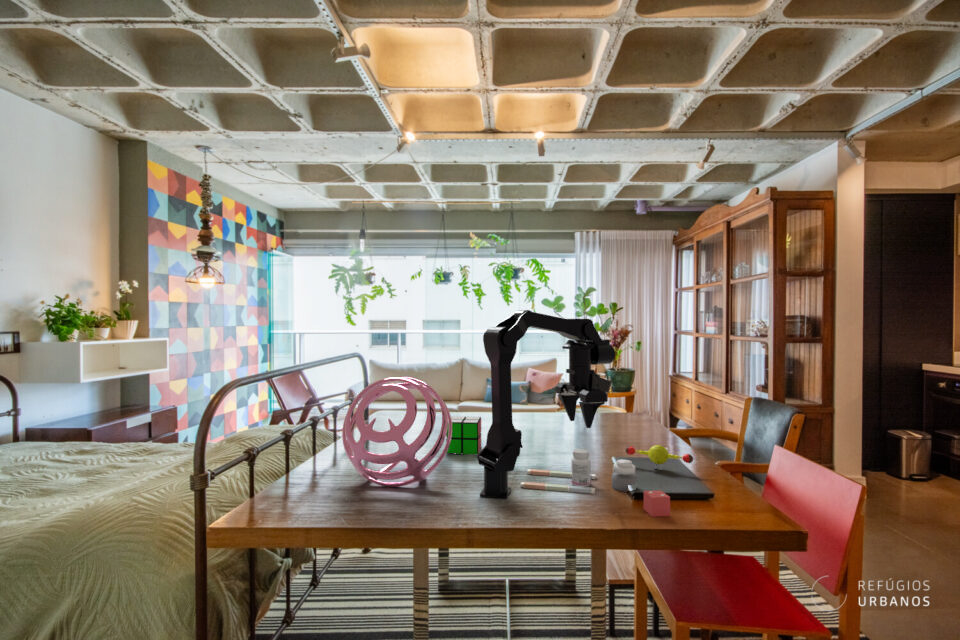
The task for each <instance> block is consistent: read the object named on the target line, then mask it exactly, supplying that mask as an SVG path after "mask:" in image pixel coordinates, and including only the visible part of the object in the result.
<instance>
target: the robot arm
mask: <svg viewBox="0 0 960 640" xmlns="http://www.w3.org/2000/svg"><path fill="white" fill-rule="evenodd" d="M529 328H531V329H536V330H537V329H538V330H542V331H548V332H553V333H557V334H559V335H560V336H561V337H564V338H566V339H567V340H566V341H567V342H566V343H564V344H563V345H562V349H563V350H568V368H566V369H565V373H566V374H568V382H557V384H556V385H555V393H556V394H557V397H558V398H559V400H560V401H561V403H562V405H563V408H564V410H565V412H566V414H567V416H568V418H569V419H568V420H569V421H570V422H575V419H576V410H577V401H578V400H579V401H578V403H579V406H580V410H581V414H582V418H583V421H584V425H585V427H586V428H587V429H591V428H592V426H593V423H594V419H595V417H596V413H597V411H598V409H599V408H600V407H601V406H604V405H605V404H606V403H608V401H609V395H608V394H609V392H610V389H611V385H612V381H611V380H609V379H605V378H604V377H601V376H600V374H598V373H596V371H595V370H594V369H592V365H593V366H594V365H609V364H612V363H613V362H614V361H615V359H616V351H615V349H614V347H613V345H612V344H611V340H610V339H605V338H604V339H602V337H601V336H600V334H599V332H598V330H597V329H596V327H595V324H594V321H593V320H592V319H591V318H563V317H560V316H559V317H558V316H553V315H550V314H549V315H548V314H543V313H540V312H539V313H538V312H535V311H532V310H530V309H522V310H521V309H520V310H516V311H515V312H514V313H512V314H511V315H509V316H508V317H507V318H505V319H503V320H502V321H499V323H497V324H496V325H494V326H491V327H489V328H488V329H486V331H484V333H483V337H482V342H483V346H484V352H485V354H486V357H487V359H488V362H489V363H490V380H491V382H490V383H491V385H490V386H491V387H490V388H491V419H492V421H491V422H492V423H491V425H490V427H489V430H488V431H487V434H486V443H485V445H484V447H483V448H482V449H481V450H480V451H479V453H478V455H476V459H477V463H478V464H479V465H480V466H483V489H482V490H481V492H480V493H479V496H480V497H484V498H495V499H496V498H497V499H508V497H509V495H510V493H511V492H512V487H509V472H513V471H514V470H515V466H516V463H517V459H518V457H520V455H521V449H522V448H523V444H522V434H523V433H522V430H520V429H517V428H515V426H514V423H513V399H512V397H513V395H512V394H513V393H512V362H513V360H514V358H515V355H517V354H516V353H517V346H518V342H519V341H520V340H521V339H522V338H523V337H524V336H525V335H526V333H527V331H528V329H529Z"/></svg>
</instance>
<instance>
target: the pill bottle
mask: <svg viewBox="0 0 960 640" xmlns="http://www.w3.org/2000/svg"><path fill="white" fill-rule="evenodd" d="M591 462H592V461H591V459H590V451H589V450H588V449H584V448H576V449H573V450H572V458H571V473H572V477H571V484H572V486H582V487H590V486H591V484H592V479H591V474H592V473H591V472H592V471H591V465H592V464H591Z"/></svg>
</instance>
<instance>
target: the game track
mask: <svg viewBox="0 0 960 640" xmlns="http://www.w3.org/2000/svg"><path fill="white" fill-rule="evenodd" d="M526 470H527V471H526V474H527V475H531V474H532V475H534V476H545V477H547V476H548V477H559V478H561V477H562V478H571V479H572V471H563V470H560V471H559V470H548V469H535V468H532V469H531V468H530V469H529V468H528V469H526ZM596 476H597V475H596V474H594V473H591V480H596ZM636 483H637V484H638V475H636V473H634V474H630V475H625V474H619V473H616V472H614V471H613V472H612V473H611V489H614V490H616V491H620V492H625V493H629V492H628V485H632V484H636ZM519 487H520V488H522V487H523V489H534V490H535V489H536V490H547V491H558V492H569V493H583V494H593V495H595V494H596V488H595V487H591V486H587V487H582V486H575V485H567V484H554V483H541V482H530V481H524V482H523V481H521V482H520V486H519Z"/></svg>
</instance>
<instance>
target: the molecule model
mask: <svg viewBox="0 0 960 640" xmlns="http://www.w3.org/2000/svg"><path fill="white" fill-rule="evenodd" d="M669 451H670V450H669V448H668V447H665V446H663V445H660V444H655V445H652V446H651V447H650V448H649V450H642V449H641V450H636V448H635V447H633V446H631V445H628V446H627V447H626V448H625V452H626V454H627V455H634V454H636V453H638V454H640V455H646V456H648V458H649V460H650V461H651V462H652V463H653V464H654V463H655V464H656V465H660V464H663V465H664V464H665V463H666V462H667V461H669V459H674V460H678V459H682V461H683V462H684V463H687V464H692V462H693V461H694V456H693V455H692V454H691V453H685V454H683V455H682V456H679V455H677V454H672V453H669Z"/></svg>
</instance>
